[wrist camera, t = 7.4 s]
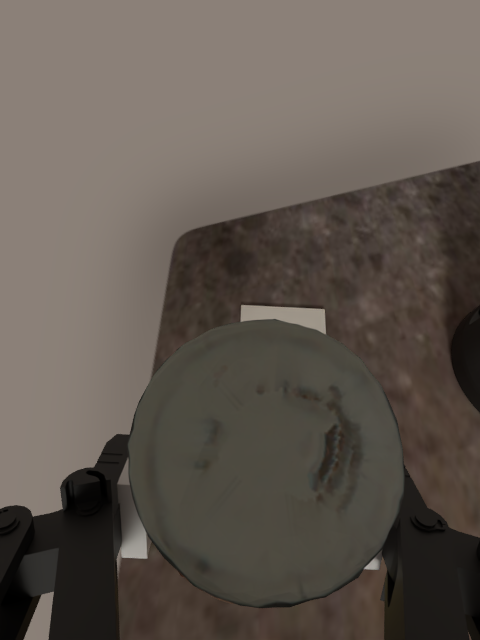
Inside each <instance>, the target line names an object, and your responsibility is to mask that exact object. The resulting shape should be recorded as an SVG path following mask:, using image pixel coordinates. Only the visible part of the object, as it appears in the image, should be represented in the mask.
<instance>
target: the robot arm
mask: <svg viewBox="0 0 480 640" xmlns="http://www.w3.org/2000/svg"><path fill="white" fill-rule="evenodd" d="M452 362H453V367H454V371H455V374H456V377H457V380H458V382H459V384H460V386H461V388H462V390H463V392H464V393H465V395H466V396H467V398H468V399H469V401H470V402H471V403H472V404H473V406H474V407H475V408H476V409H477V410H478V411H479V412H480V305H479V306H478V307H477V308H475V309H474V310H473V311H472V312H470V313H469V314H468V315H467V316H466V317H465V318H464V319H463V320H462V321H461V323H460V324H459V326H458V327H457V329H456V332H455V334H454V338H453V342H452ZM128 439H129V435H122V434H117V435H115V436H114V437H113V438H112V439H111V440H109V441H108V442H107V443H106V445H105V447H104V449H103V451H102V453H101V455H100V457H99V459H98V461H97V463H96V465H95V467H94V468H84V469H81V470H77V471H75V472H74V473H72V474H70V475H69V476H68V477H67V478H66V479H65V480H64V481H63V482H62V485H61V488H60V489H61V498H62V506H63V509H62V510H59V511H56V512H53V513H50V514H44V515H39V516H34V517H33V516H32V514H31V511H30V510H29V509H28V508H26V507H24V506H17V505H15V506H8V507H4V508H2V509H0V640H23V639H24V637H25V634H26V632H27V629H28V627H29V624H30V622H31V619H32V617H33V614H34V612H35V609H36V607H37V604H38V602H39V599H40V597H41V595H42V594H45V593H49V592H53V591H54V597H53V605H52V614H51V623H50V632H49V640H120V635H119V607H118V579H117V560H116V559H117V556H118V553H119V550H120V547H121V553H122V557H124V558H145V559H147V557H148V553H149V549H150V545H151V540H150V538H149V537H148V535H147V533H146V531H145V529H144V527H143V524H142V522H141V520H140V518H139V516H138V513H137V510H136V507H135V504H134V501H133V498H132V493H131V488H130V483H129V474H128V461H129V460H128V453H127V442H128ZM404 473H405V484H404V497H403V500H402V504H401V507H400V511H399V514H398V516H397V518H396V520H395V522H394V524H393V526H392V528H391V529H390V531H389V533H388V536H387V539H386V541H385V544H384V546H383V549H382V550H381V551H380V552H379V553H378V554H377V556H376V557H375V558H374V559H373V560H372V561H371V562H370V563H369V564H368V565H367V566H366V567H365V568H364V569H374V570H379V569H380V564H381V560H382V555H383V558H384V561H385V564H386V567H387V569H388V570H387V574H386V578H385V582H384V587H383V591H382V595H381V599H380V600H382V601H385V622H384V640H469V634H470V636H471V639H472V640H480V538H478V537H475V536H472V535H468V534H465V533H462V532H458V531H456V530H453V529H451V528H449V527H448V524H447V522H446V521H445V520H444V519H443V518H442V517H441V516H440V515H439V514H437V513H436V512H434V511H433V510H431V509H429V508H427V506H426V504H425V502H424V501H423V499H422V497H421V495H420V493H419V491H418V489H417V488H416V486H415V484H414V482H413V480H412V478H410V475H409V473H408V471H407V469H405V465H404ZM468 632H469V634H468Z"/></svg>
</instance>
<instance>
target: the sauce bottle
mask: <svg viewBox="0 0 480 640" xmlns="http://www.w3.org/2000/svg"><path fill="white" fill-rule="evenodd" d="M127 453H128V460H129V461H128V474H129V483H130V488H131V493H132V498H133V501H134V504H135V507H136V510H137V513H138V516H139V518H140V520H141V522H142V524H143V527H144V529H145V531H146V533H147V535H148V537H149V538H150V540H151V541H152V542H153V544H154V545H155V546H156V548H157V549H158V550H159V552H160V553H161V554H162V556H163V557H164V558H165V559H166V560H167V561H168V562H169V563H170V564H171V565H172V566H173V567H174V568H175V569H177V570H178V572H179V573H180V575H181V576H182V577H184V578H186V579H187V580H188V581H189V582H190V583H191V584H192V585H194V586H195V587H197V588H199V590H201V591H204V592H205V593H207V594H209V595H210V596H212V597H214V598H216V599H218V600H220V601H225V602H227V603H232V604H238V605H241V606H249V607H256V608H272V607H292V606H295V605H298V604H301V603H304V602H307V601H310V600H314V599H319V598H324V597H327V596H328V595H330V594H331V593H333V592H335V591H337V590H339V589H341V588H342V587H344V586H345V585H347V584H348V583H350V582H351V581H353V580H355V579H356V578H358V577H359V576H360V574H361V573H362V571H363V569H364V568H365V567H366V566H367V565H368V564H369V563H370V562H371V561H372V560H373V559H374V558H375V557H376V556H377V554H378V553H379V552H380V551H381V550H382V549H383V546H384V544H385V541H386V539H387V536H388V533H389V531H390V529H391V528H392V526H393V524H394V522H395V520H396V518H397V516H398V514H399V511H400V507H401V504H402V500H403V497H404V484H405V473H404V461H403V449H402V444H401V438H400V433H399V428H398V423H397V419H396V417H395V414H394V412H393V410H392V407H391V405H390V403H389V400H388V398H387V396H386V394H385V392H384V391H383V389H382V387H381V385H380V383H379V382H378V381H377V380H376V379H375V377H374V376H373V375H372V374H371V373H370V371H369V370H368V369H367V367H366V366H365V364H364V363H363V361H362V360H361V358H359V357H358V356H357V355H355V354H354V353H353V352H351V351H350V350H349V349H348V348H347V347H346V346H344V345H343V344H342V343H340V342H339V341H337V340H335V339H333V338H331V337H330V336H328V335H326V334H324V333H322V332H320V331H318V330H316V329H312V328H307V327H304V326H301V325H298V324H293V323H288V322H284V321H280V320H277V319H264V320H250V321H243V322H237V323H231V324H227V325H224V326H220V327H217V328H214V329H211V330H209V331H207V332H205V333H203V334H202V335H200V336H199V337H197V338H196V339H193V340H191V341H189V342H187V343H185V344H184V345H182V346H181V347H180V348H178V349H177V350H176V352H175V353H174V354H173V355H172V356H171V357H169V358H168V359H167V360H166V361H165V362H164V363H163V364H162V366H161V367H160V368H159V369H158V370H157V371H156V373H155V374H154V376H153V378H152V379H151V381H150V383H149V384H148V386H147V388H146V390H145V392H144V393H143V395H142V397H141V399H140V401H139V403H138V406H137V409H136V412H135V414H134V419H133V423H132V427H131V431H130V435H129V439H128V442H127Z"/></svg>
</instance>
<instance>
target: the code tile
mask: <svg viewBox="0 0 480 640" xmlns="http://www.w3.org/2000/svg"><path fill="white" fill-rule="evenodd" d="M264 319H277V320H280V321H284V322H288V323H293V324H298V325H301V326H304V327H307V328H312V329H316V330H318V331H320V332H322V333H324V334H326V327H325V309H311V308H291V307H271V306H251V305H241V321H240V322H243V321H250V320H264Z"/></svg>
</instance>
